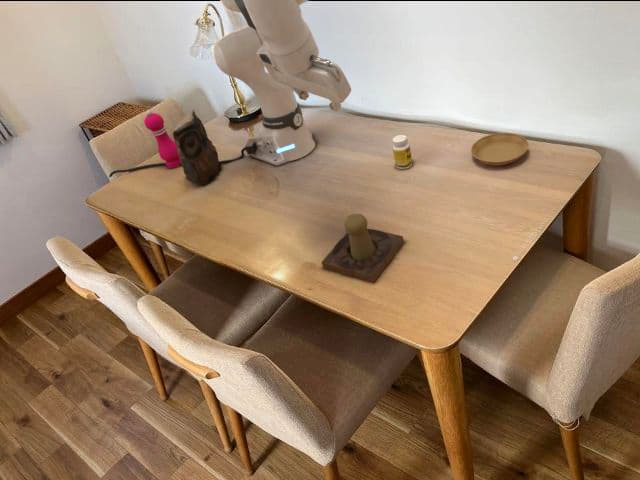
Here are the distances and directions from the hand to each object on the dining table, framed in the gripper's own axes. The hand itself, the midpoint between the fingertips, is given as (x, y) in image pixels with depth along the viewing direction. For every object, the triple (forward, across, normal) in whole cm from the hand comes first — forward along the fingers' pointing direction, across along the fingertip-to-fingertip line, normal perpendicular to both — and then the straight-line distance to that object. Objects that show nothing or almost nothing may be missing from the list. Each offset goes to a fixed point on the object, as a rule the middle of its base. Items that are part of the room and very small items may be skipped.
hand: (320, 103), depth 109 cm
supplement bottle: (+37, -3, -14) cm, 40 cm away
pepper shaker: (+24, -17, +19) cm, 35 cm away
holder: (+24, -17, +19) cm, 35 cm away
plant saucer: (+38, -25, -27) cm, 54 cm away
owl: (+36, +57, +16) cm, 69 cm away
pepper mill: (+39, +75, +16) cm, 86 cm away
